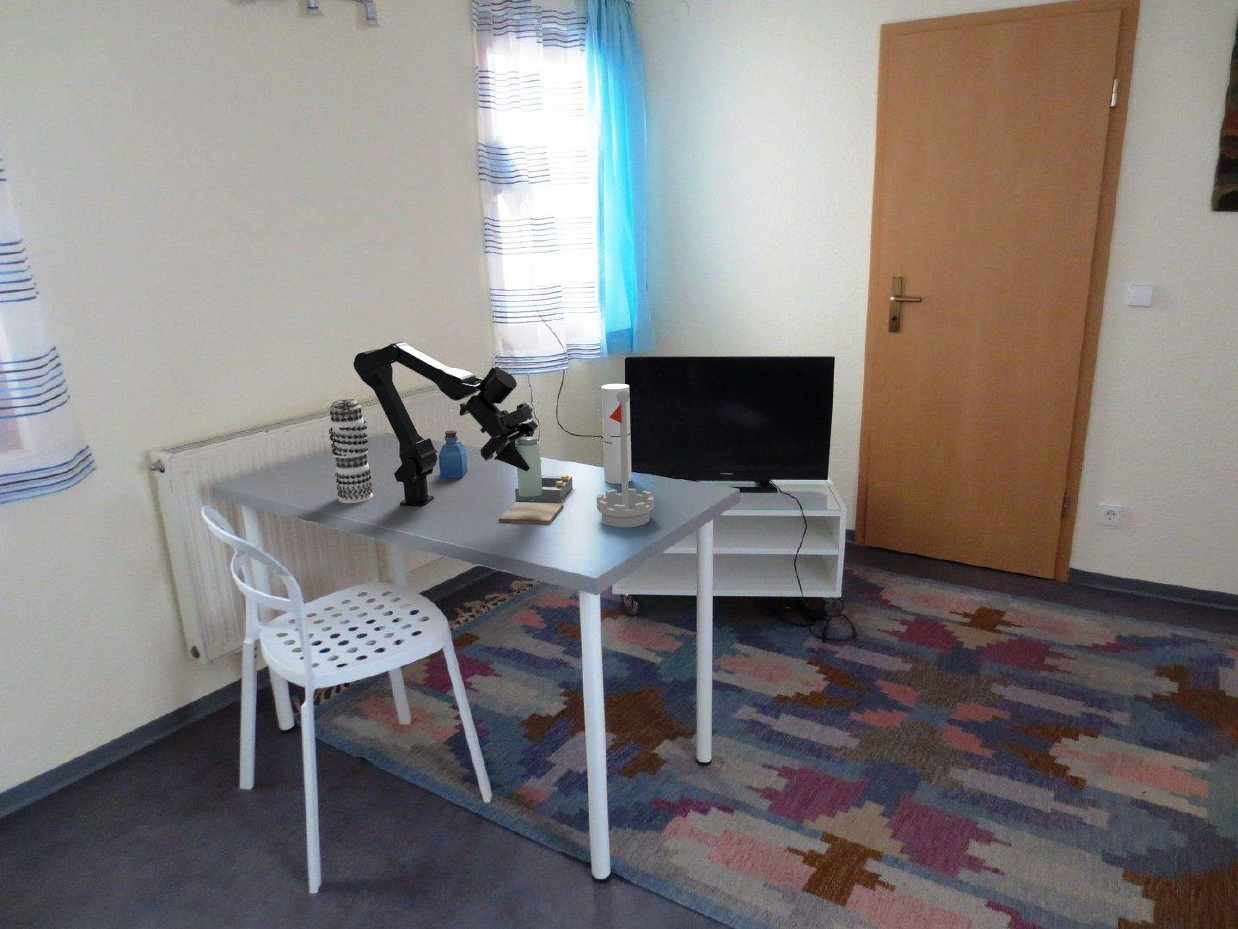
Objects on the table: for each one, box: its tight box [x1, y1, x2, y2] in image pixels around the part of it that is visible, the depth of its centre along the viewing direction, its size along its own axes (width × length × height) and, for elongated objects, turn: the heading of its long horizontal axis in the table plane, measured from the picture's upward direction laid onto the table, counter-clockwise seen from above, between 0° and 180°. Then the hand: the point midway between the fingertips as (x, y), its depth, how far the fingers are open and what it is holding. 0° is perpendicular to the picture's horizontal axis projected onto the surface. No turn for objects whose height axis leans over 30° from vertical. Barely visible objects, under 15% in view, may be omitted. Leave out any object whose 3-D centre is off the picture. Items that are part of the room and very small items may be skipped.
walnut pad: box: [498, 501, 564, 525], centre depth 200 cm, size 12×12×1 cm
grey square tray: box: [514, 475, 573, 503], centre depth 215 cm, size 12×12×4 cm
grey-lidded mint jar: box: [515, 436, 543, 497], centre depth 197 cm, size 6×6×13 cm
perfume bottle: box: [438, 430, 468, 479], centre depth 233 cm, size 6×6×12 cm
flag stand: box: [596, 390, 655, 528], centre depth 191 cm, size 13×13×30 cm
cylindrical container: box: [601, 383, 632, 485], centre depth 222 cm, size 7×7×25 cm
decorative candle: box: [327, 398, 374, 504], centre depth 213 cm, size 9×9×25 cm
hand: (534, 466), depth 196 cm, fingers closed on grey-lidded mint jar, 5 cm apart
